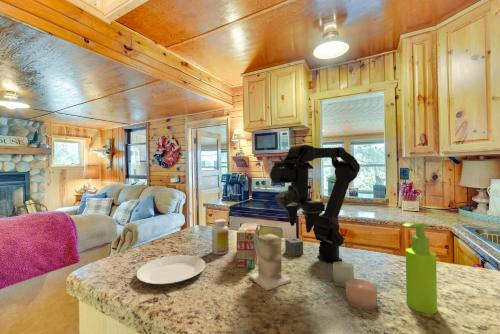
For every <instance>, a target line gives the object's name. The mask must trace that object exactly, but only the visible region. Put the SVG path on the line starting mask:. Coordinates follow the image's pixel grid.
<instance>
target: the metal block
mask: <svg viewBox="0 0 500 334" xmlns="http://www.w3.org/2000/svg"><path fill="white" fill-rule="evenodd" d="M257 265H258V266H257V268H258V270H257V272H258V276H259V277H261V278H262V279H264V280H265V281H267V282H271V281H274V280H277V279H280V278H282V275H281V273H282V237H280V236H277V235H275V234H272V233H267V234H263V235H262V234H261V236H258V259H257Z"/></svg>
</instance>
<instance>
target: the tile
mask: <svg viewBox="0 0 500 334" xmlns="http://www.w3.org/2000/svg"><path fill="white" fill-rule="evenodd" d="M281 275H282V278H280V279H277V280H274V281H271V282H267V281H265V280H264V279H262V278H261V277H259V276H258V271H257V272H254V273H252V274H249V275H248V277H249V279H251V281H253V282H255V283H256V284H257V285H258V286H260V287H261V288H263V289H264V290H265V291H270V290H272V289H275V288H278V287H280V286H283V285H285V284H286V285H287V284H288V283H289V284H290V283H291V282H292V278H290V277H289V276H288V275H285V274H284V273H283V272H281Z"/></svg>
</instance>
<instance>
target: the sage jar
mask: <svg viewBox="0 0 500 334" xmlns="http://www.w3.org/2000/svg"><path fill="white" fill-rule="evenodd" d="M332 275H333V276H332V277H333V278H332V281H333V283H334V285H336V286H338V287H340V288H346V282H347V281H348V280H350V279H355V267H354V265H353V264H352V263H349V262H346V261H338V262H333V263H332Z"/></svg>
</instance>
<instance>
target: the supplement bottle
mask: <svg viewBox="0 0 500 334" xmlns="http://www.w3.org/2000/svg"><path fill="white" fill-rule="evenodd" d="M213 222H214V223H213V224H214V226H213V227H212V228H211V249H212V250H211V252H212V254H214V255H218V256H221V255H226V254H228V253H229V251H230V249H229V248H230V247H229V246H230V244H229V241H230V240H229V239H230V238H229V236H230V235H229V227H228V226H227V220H226V219H223V218H220V219H215V220H214V221H213Z"/></svg>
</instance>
